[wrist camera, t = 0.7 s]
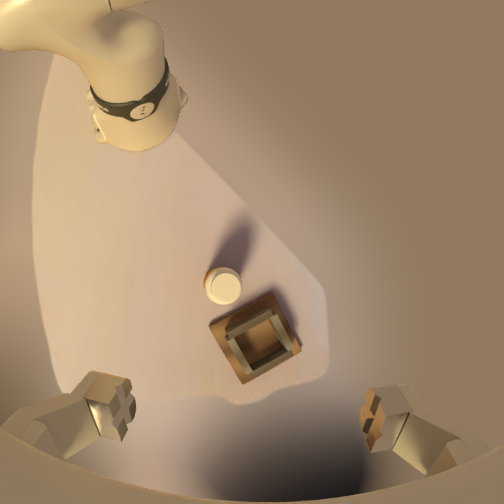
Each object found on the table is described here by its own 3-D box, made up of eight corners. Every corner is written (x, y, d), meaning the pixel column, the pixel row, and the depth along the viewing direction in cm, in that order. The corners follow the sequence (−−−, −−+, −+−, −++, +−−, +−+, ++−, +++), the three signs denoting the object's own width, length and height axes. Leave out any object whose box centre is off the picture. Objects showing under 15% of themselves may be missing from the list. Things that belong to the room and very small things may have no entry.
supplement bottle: (223, 260, 48) (231, 259, 39) (242, 287, 49) (254, 292, 39) (196, 279, 47) (197, 282, 38) (215, 305, 48) (221, 315, 38)
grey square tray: (208, 326, 47) (210, 331, 43) (271, 292, 50) (277, 294, 46) (241, 382, 48) (245, 391, 44) (300, 349, 50) (308, 355, 46)
